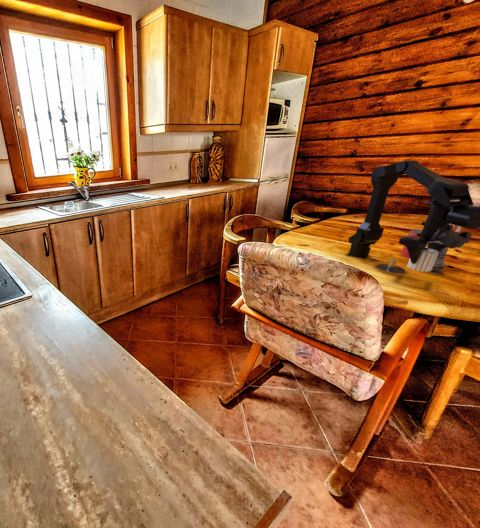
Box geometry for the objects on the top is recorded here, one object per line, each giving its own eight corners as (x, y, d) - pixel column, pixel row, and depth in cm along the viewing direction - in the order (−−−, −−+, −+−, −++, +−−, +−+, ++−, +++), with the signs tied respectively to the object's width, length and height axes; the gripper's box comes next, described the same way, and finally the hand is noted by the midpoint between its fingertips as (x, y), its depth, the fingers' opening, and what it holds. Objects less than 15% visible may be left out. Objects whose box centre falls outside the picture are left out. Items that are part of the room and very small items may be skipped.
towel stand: (373, 269, 115) (376, 259, 113) (378, 263, 120) (382, 253, 118) (402, 276, 108) (406, 266, 107) (407, 269, 114) (411, 259, 112)
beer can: (416, 260, 120) (427, 234, 116) (397, 255, 126) (406, 230, 121) (423, 257, 123) (434, 231, 118) (404, 252, 129) (413, 228, 124)
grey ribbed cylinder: (405, 268, 102) (412, 250, 99) (408, 263, 106) (415, 246, 103) (429, 273, 98) (437, 255, 95) (432, 268, 101) (440, 250, 98)
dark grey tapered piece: (447, 275, 107) (460, 246, 102) (429, 274, 108) (441, 246, 104) (435, 269, 113) (447, 241, 108) (418, 268, 114) (429, 241, 109)
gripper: (443, 230, 86) (424, 274, 92) (492, 224, 88) (470, 268, 95) (405, 221, 96) (390, 261, 102) (450, 216, 98) (432, 256, 105)
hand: (421, 262), depth 101 cm, fingers closed on grey ribbed cylinder, 6 cm apart
